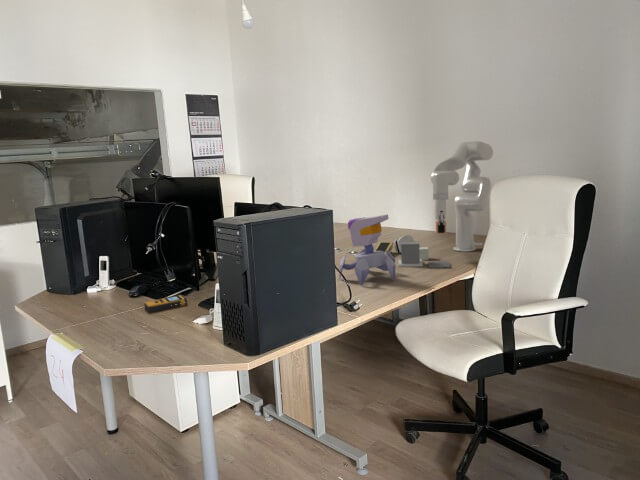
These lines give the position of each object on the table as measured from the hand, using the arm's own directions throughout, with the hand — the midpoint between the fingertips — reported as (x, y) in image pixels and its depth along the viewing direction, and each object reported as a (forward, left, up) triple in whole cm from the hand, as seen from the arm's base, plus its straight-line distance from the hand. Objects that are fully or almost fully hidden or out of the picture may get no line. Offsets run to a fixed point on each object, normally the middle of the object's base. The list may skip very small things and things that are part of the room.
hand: (440, 231), depth 253 cm
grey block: (+9, -3, -15) cm, 18 cm away
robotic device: (+35, +34, -16) cm, 51 cm away
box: (+31, -11, -16) cm, 36 cm away
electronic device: (+117, +75, -16) cm, 140 cm away
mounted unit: (+16, +8, -15) cm, 23 cm away
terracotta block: (0, 0, -1) cm, 1 cm away
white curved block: (+18, -24, -16) cm, 34 cm away
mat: (+2, +12, -15) cm, 19 cm away
